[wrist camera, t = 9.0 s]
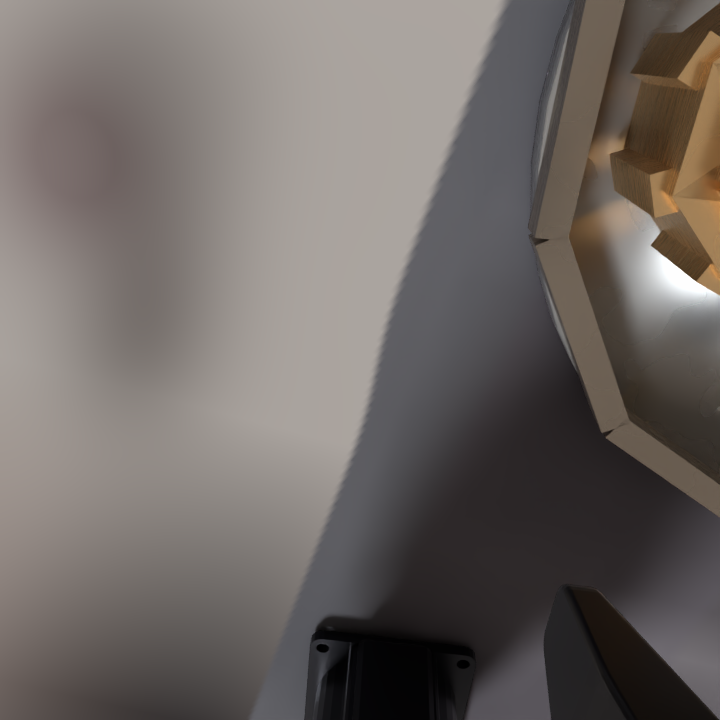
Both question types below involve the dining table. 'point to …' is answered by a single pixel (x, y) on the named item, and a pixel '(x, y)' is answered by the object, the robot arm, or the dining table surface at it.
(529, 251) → the dining table surface
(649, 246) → the carrier
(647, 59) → the planet gear
